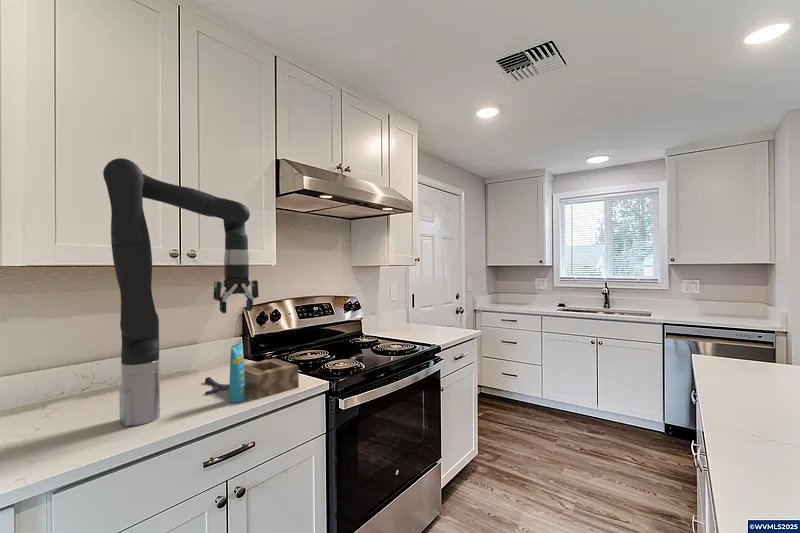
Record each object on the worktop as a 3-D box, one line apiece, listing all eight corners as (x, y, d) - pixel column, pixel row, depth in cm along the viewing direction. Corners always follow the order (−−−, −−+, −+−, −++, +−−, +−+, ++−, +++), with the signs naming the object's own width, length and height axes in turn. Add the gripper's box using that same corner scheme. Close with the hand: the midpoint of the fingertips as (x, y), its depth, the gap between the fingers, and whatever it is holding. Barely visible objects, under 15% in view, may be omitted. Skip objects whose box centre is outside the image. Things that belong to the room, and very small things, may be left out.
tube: (240, 404, 123) (240, 345, 123) (225, 404, 123) (224, 345, 123) (248, 396, 131) (247, 340, 131) (234, 396, 130) (233, 340, 130)
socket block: (257, 398, 128) (257, 375, 128) (234, 388, 139) (234, 366, 139) (298, 387, 140) (298, 365, 140) (274, 378, 151) (274, 358, 151)
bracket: (224, 379, 152) (224, 372, 152) (245, 386, 144) (245, 378, 144) (187, 389, 141) (187, 381, 141) (207, 397, 132) (207, 389, 132)
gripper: (219, 263, 119) (220, 315, 119) (262, 263, 129) (262, 310, 129) (209, 263, 124) (210, 313, 124) (251, 263, 134) (251, 309, 134)
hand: (236, 311), depth 127 cm, fingers open, 8 cm apart
